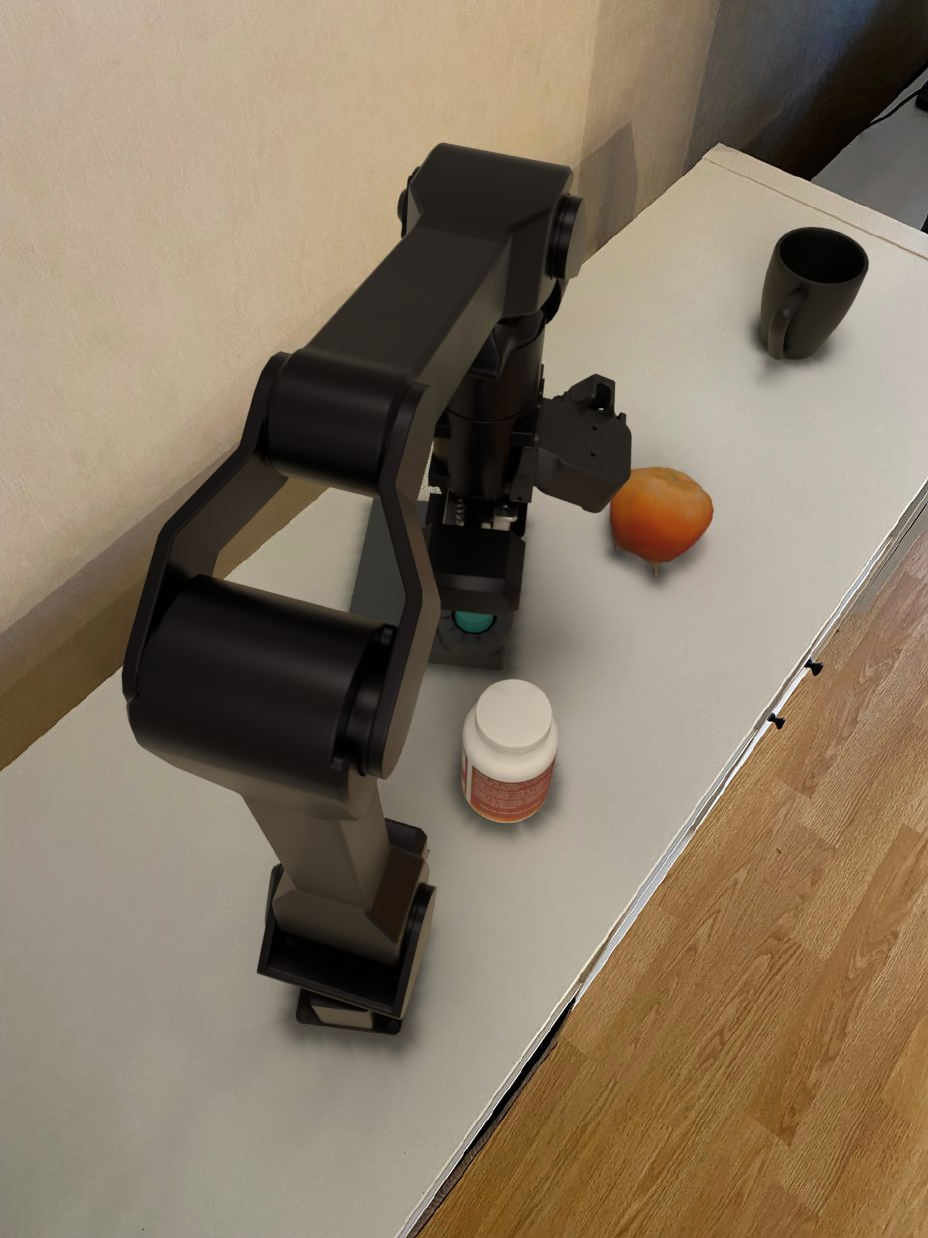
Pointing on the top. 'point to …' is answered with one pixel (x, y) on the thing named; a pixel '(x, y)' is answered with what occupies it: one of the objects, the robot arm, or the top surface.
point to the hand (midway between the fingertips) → (476, 555)
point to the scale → (386, 597)
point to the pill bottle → (509, 751)
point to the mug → (809, 289)
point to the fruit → (659, 514)
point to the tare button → (473, 621)
